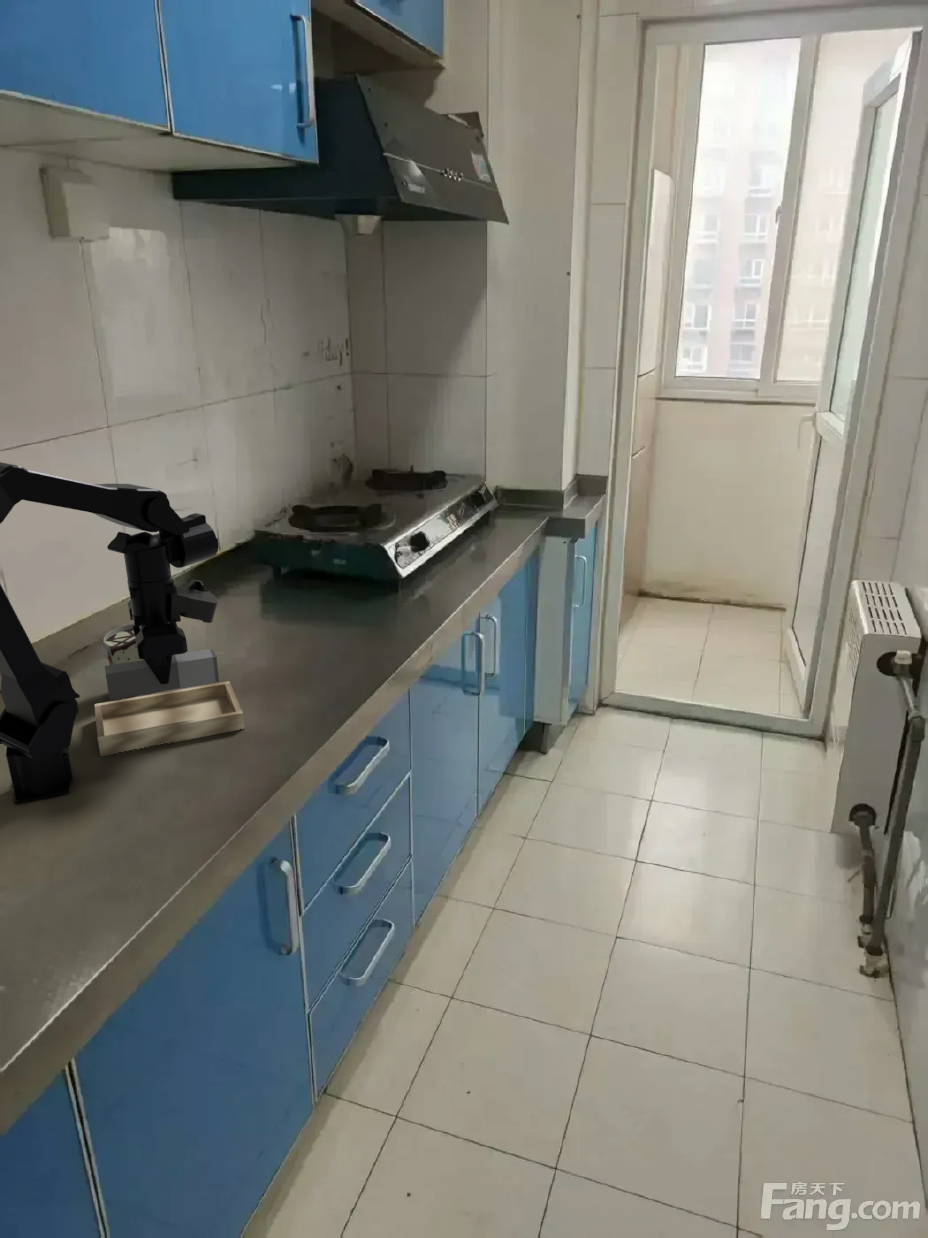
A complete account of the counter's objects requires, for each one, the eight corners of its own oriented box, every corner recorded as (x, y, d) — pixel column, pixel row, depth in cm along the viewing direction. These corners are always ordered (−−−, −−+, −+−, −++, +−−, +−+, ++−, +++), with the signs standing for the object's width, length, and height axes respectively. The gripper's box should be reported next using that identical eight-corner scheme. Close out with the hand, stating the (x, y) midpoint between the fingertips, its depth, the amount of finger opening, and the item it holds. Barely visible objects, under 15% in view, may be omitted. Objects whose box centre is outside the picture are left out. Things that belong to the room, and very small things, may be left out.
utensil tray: (100, 756, 117) (97, 739, 116) (97, 719, 127) (94, 704, 126) (244, 728, 125) (243, 713, 124) (230, 696, 135) (229, 681, 134)
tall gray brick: (215, 673, 128) (213, 648, 126) (219, 682, 125) (216, 656, 124) (108, 691, 122) (104, 665, 121) (109, 700, 119) (105, 673, 118)
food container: (163, 669, 144) (155, 614, 140) (184, 679, 140) (177, 623, 137) (94, 694, 135) (84, 636, 131) (114, 706, 131) (105, 646, 128)
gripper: (220, 589, 113) (231, 695, 118) (200, 551, 129) (210, 646, 134) (130, 600, 108) (146, 710, 114) (121, 560, 124) (135, 658, 130)
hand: (163, 679), depth 123 cm, fingers closed on tall gray brick, 3 cm apart
